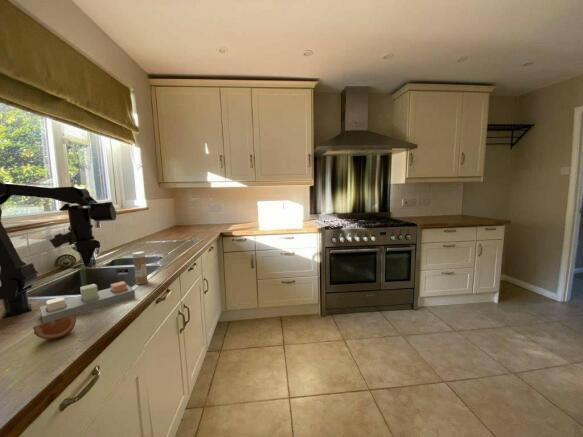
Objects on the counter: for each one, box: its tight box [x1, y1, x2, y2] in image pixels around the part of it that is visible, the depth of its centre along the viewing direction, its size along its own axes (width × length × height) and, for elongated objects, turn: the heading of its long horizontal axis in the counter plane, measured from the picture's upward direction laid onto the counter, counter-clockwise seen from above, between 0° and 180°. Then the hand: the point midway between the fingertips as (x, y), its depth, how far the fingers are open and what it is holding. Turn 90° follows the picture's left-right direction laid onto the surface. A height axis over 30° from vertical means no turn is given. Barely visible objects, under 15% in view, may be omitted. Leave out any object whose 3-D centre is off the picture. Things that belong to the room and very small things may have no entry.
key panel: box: [39, 284, 136, 324], centre depth 86 cm, size 10×24×3 cm, turn 138°
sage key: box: [79, 283, 99, 302], centre depth 85 cm, size 4×4×5 cm
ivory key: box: [45, 296, 66, 312], centre depth 79 cm, size 4×4×5 cm
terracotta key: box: [110, 280, 128, 293], centre depth 92 cm, size 4×4×5 cm
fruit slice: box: [32, 314, 77, 340], centre depth 67 cm, size 8×7×5 cm
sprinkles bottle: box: [132, 251, 148, 285], centre depth 106 cm, size 5×5×14 cm
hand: (86, 265), depth 89 cm, fingers closed
